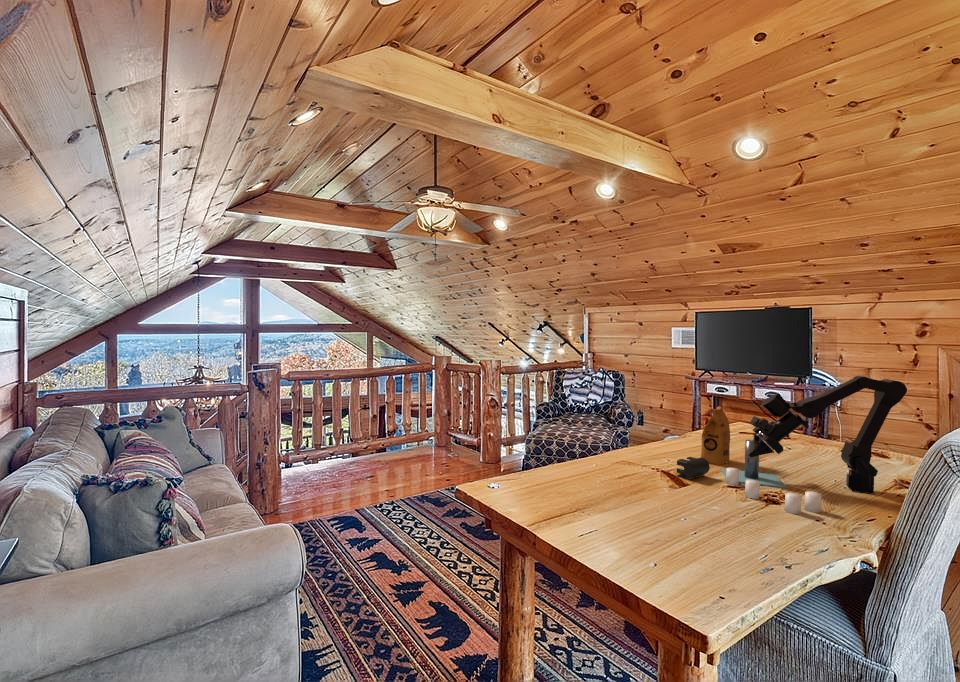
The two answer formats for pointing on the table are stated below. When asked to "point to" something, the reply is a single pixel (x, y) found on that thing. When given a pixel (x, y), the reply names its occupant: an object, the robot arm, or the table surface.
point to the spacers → (790, 498)
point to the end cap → (692, 467)
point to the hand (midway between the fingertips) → (747, 454)
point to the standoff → (751, 460)
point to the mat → (761, 479)
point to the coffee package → (716, 438)
